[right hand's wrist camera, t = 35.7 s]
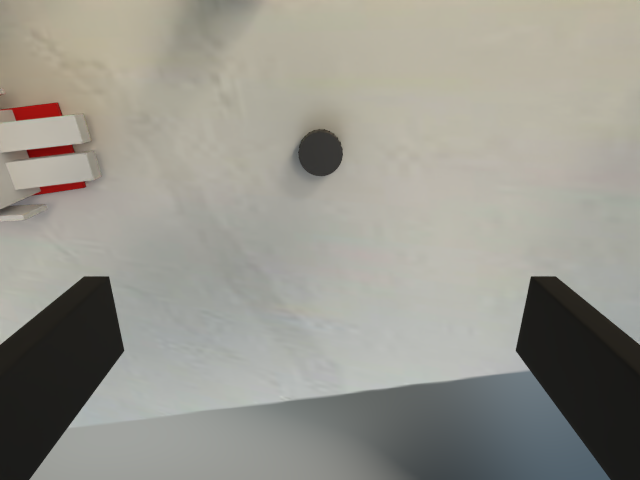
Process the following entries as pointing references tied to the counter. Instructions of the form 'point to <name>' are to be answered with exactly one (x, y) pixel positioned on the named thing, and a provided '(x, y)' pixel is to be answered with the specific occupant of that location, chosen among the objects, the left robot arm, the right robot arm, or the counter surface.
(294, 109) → the counter surface
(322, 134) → the cap
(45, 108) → the toy
